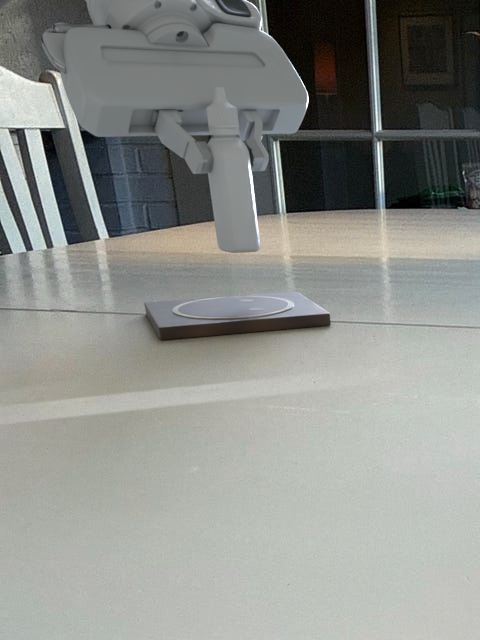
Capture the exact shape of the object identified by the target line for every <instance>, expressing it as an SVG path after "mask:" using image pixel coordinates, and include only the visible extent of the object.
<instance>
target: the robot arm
mask: <svg viewBox="0 0 480 640" xmlns="http://www.w3.org/2000/svg"><path fill="white" fill-rule="evenodd" d="M11 1H12V0H0V11H1V10H2V9H3V8H4V7H6V6H7V5H8V4H9V3H10V2H11ZM84 1H85V2H86V7H87V11H88V15H89V17H90V20H91V22H92V24H91V23H90V24H89V23H87V24H71V23H69V22H55V23H53V24H52V25H51V28H47V29H45V30H44V31H43V32H42V33H41V35H40V43H41V47H42V49H43V51H44V53H45V55H46V57H47V58H48V60H49V62H50V63H51V65H52V66H53V67H54V68H55V69H57V70H58V71H59V73H60V79H61V82H62V85H63V88H64V91H65V94H66V98H67V100H68V102H69V105H70V107H71V110H72V111H73V115H74V116H75V118H76V120H77V122H78V124H79V126H80V127H81V128H83V130H85V131H86V132H87V133H89V134H91V135H93V136H95V137H98V138H112V137H113V138H115V137H121V138H122V137H158V139H159V141H160V143H161V144H162V145H164V146H165V147H166V148H167V149H169V150H170V151H171V152H172V153H175V154H176V155H177V156H178V157H180V158H181V159H184V161H185V162H186V163H185V164H187V166H188V168H189V169H190V171H191V173H192V174H193V175H200V174H202V175H203V174H208V173H211V171H212V168H211V167H212V166H213V163H214V158H213V154H212V152H210V151H209V147H208V145H207V144H208V142H206V141H205V140H198V141H197V140H196V139H195V138H194V137H193V136H211V135H210V134H209V127H208V119H207V112H206V108H207V107H208V106H209V105H211V104H212V103H213V101H214V87H223V88H224V92H225V95H226V98H227V101H228V102H229V103H230V104H231V105H233V106H235V107H236V108H237V114H238V122H239V130H240V134H239V135H237V137H239V138H240V139H241V140H242V141H243V143H244V144H245V145H246V147H247V149H248V151H249V155H250V162H251V170H252V172H265V171H266V170H267V166H268V165H269V161H270V156H269V153H268V151H267V150H266V149H267V148H266V147H265V146H264V144H263V142H262V140H263V135H293V134H295V133H297V132H298V130H299V128H300V126H301V125H302V122H303V120H304V118H305V115H306V112H307V109H308V105H309V93H308V91H307V89H306V85H304V83H303V81H302V79H301V76H299V73H298V72H297V70H296V69H295V67H294V65H293V64H292V62H291V61H290V59H289V58H288V56H287V53H285V51H284V50H283V48H282V47H281V46H280V44H278V42H277V41H276V40H275V39H274V38H273V36H271V35H269V34H268V33H267V32H265V31H263V30H261V29H262V23H263V17H262V15H261V12H260V10H259V9H258V7H257V6H256V5H255V4H254V3H252V2H250V1H248V0H84Z"/></svg>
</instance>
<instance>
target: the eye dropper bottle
mask: <svg viewBox="0 0 480 640" xmlns="http://www.w3.org/2000/svg"><path fill="white" fill-rule="evenodd" d="M206 112H207V119H208V127H209V134H210V135H209V136H212V137H211V138H210V139H209V141H208V142H207V145H208V147H209V151H210V152H212V154H213V158H214V163H213V166H212V167H211V168H212V171H211V173H207V177H208V184H209V191H210V198H211V207H212V213H213V221H214V227H215V235H216V236H215V237H216V241H217V242H216V243H217V247H218V249H219V250H221V252H222V251H223V252H226V253H232V254H241V253H245V254H246V253H255V252H259V250H261V239H260V229H259V222H258V213H257V205H256V204H257V203H256V195H255V187H254V179H253V171H252V170H251V162H250V155H249V151H248V149H247V147H246V145H245V144H244V143H245V142H244V141H242V140H241V139H240V137H239V136H238V135H239V134H240V130H239V122H238V114H237V108H236V107H235V106H233V105H231V104H230V103H229V102H228V101H227V98H226V95H225V92H224V88H223V87H214V101H213V103H212V104H211V105H209V106H208V107H207V108H206Z"/></svg>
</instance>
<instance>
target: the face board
mask: <svg viewBox="0 0 480 640" xmlns="http://www.w3.org/2000/svg"><path fill="white" fill-rule="evenodd" d="M143 305H144V311H145V314H146V316H147V318H148V319H149V321H150V323H151V325H152V327H153V328H154V330H155V332H156V334H157V336H158V338H159V339H160V341H168V340H169V341H170V340H178V339H190V338H201V337H202V338H203V337H212V336H226V335H236V334H249V333H258V332H259V333H260V332H271V331H281V330H291V329H292V330H293V329H304V328H314V327H315V328H317V327H327V326H331V324H332V323H331V314H330V312H329V311H327V310H325V309H324V308H322V307H321V306H320V305H318V304H316V303H315V302H314V301H312V300H311V299H309V298H307V297H306V296H305V295H303V294H301V293H300V292H298V291H296V290H295V291H283V292H269V293H256V294H241V295H240V294H239V295H229V296H227V295H226V296H218V297H217V296H216V297H215V296H214V297H202V298H188V299H176V300H175V299H173V300H162V301H147V302H144V303H143Z"/></svg>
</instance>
